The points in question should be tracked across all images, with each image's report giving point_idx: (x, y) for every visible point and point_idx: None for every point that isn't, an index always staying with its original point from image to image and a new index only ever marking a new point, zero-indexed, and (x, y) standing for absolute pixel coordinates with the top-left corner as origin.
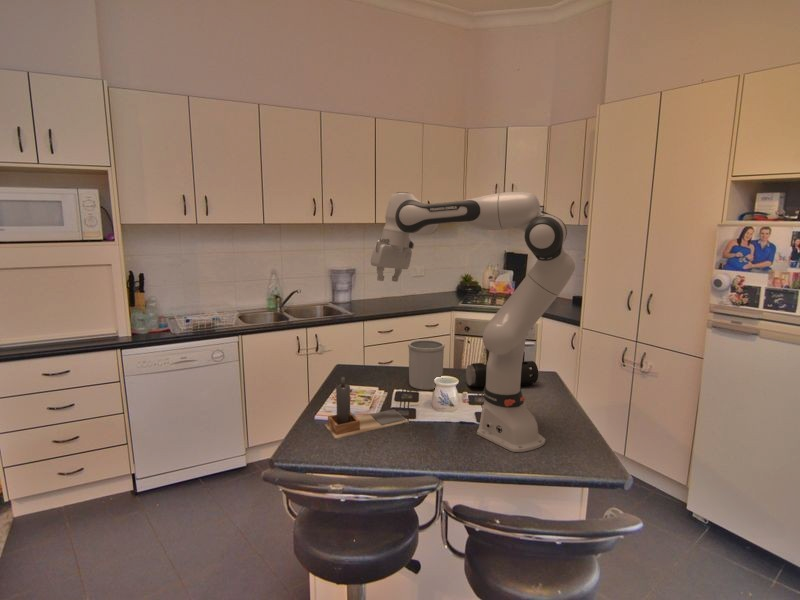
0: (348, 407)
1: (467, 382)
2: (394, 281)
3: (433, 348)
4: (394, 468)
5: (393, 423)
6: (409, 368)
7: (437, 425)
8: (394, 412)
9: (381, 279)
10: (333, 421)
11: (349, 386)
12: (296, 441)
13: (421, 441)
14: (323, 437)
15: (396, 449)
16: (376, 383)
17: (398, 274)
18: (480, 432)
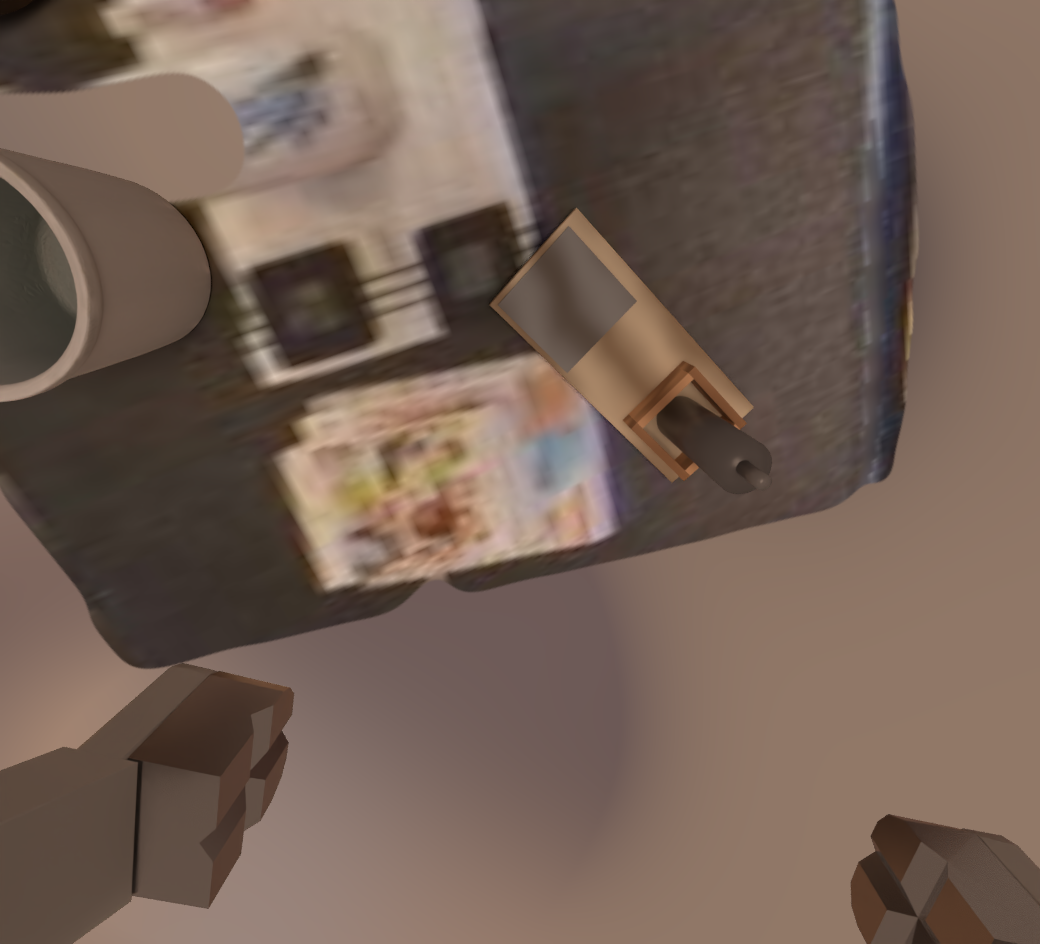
0: (719, 417)
1: (10, 10)
2: (292, 705)
3: (28, 185)
4: (866, 162)
5: (609, 263)
6: (142, 351)
7: (537, 86)
8: (525, 290)
9: (1029, 861)
10: None
11: (735, 445)
12: (756, 508)
13: (681, 120)
14: None
15: (752, 197)
16: (245, 476)
17: (20, 835)
18: None
